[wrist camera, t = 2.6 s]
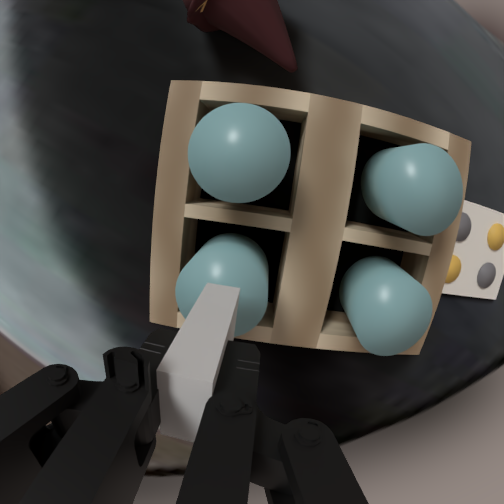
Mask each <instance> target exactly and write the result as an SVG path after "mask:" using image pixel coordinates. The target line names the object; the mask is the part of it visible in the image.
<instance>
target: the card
mask: <svg viewBox="0 0 504 504" xmlns="http://www.w3.org/2000/svg"><path fill="white" fill-rule="evenodd" d="M503 275H504V214H503V213H500V212H498V211H495V210H492V209H489V208H487V207H484V206H481V205H478V204H475V203H472V202H469V201H466V200H464V204H463V209H462V215H461V220H460V225H459V229H458V234H457V238H456V243H455V247H454V251H453V255H452V259H451V262H450V266H449V270H448V273H447V277H446V280H445V284H444V287H443V290H442V293H444V294H452V295H460V296H469V297H477V298H485V299H494V300H496V297H497V294H498V291H499V288H500V284H501V281H502V278H503Z"/></svg>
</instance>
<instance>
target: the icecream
mask: <svg viewBox="0 0 504 504" xmlns="http://www.w3.org/2000/svg"><path fill="white" fill-rule="evenodd" d="M183 2H184V4H185V6H186V8H187V10H188V13H187V15H188V17H187V22H188V23H190V24H193V25H195V26H196V27H197V28H198V29H200V30H201V31H203V32H212V31H217V30H222V31H224V32H226V33H228V34H230V35H231V36H233V37H235V38H237V39H238V40H240V41H242V42H244V43H245V44H247V45H249V46H250V47H252V48H254V49H255V50H257V51H258V52H260V53H262V54H263V55H265V56H266V57H268V58H269V59H271V60H272V61H274V62H275V63H277V64H278V65H279V66H281V67H282V68H284V69H285V70H287V71H288V72H290V73H292V72H295V71H296V70H297V69H298V67H297V63H296V58H295V55H294V52H293V48H292V45H291V42H290V39H289V35H288V32H287V29H286V26H285V23H284V19H283V16H282V13H281V10H280V7H279V4H278V1H277V0H183Z"/></svg>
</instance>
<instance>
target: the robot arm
mask: <svg viewBox="0 0 504 504" xmlns="http://www.w3.org/2000/svg"><path fill="white" fill-rule="evenodd" d="M239 295H240V288H237V287H231V286H225V285H219V284H213V283H207V284H206V285H205V287H204V289H203V291H202V292H201V294H200V296H199V297H198V299H197V301H196V302H195V304H194V306H193V308H192V309H191V311H190V313H189V314H188V316H187V318H186V319H185V321H184V323H183V325H182V326H181V328H180V330H179V332H177V331H173V330H168V329H163V328H160V329H158V330H156V331H154V332H152V333H151V334H150V335H149V336H148V338H147V339H146V341H145V343H143V345H142V346H141V348H140V349H139V350H138V349H136V348H131V347H116V348H113V349H110V350H108V351H107V352H105V353H104V354H103V359H104V366H105V372H106V379H105V380H104V381H103V382H101V381H86V380H79V377H78V374H77V372H76V371H75V370H74V369H73V368H72V367H70V366H67V365H63V364H54V365H49V366H47V367H45V368H43V369H41V370H40V371H38V372H36V373H35V374H33V375H32V376H30V377H28V378H27V379H25V380H24V381H22V382H20V383H19V384H17V385H16V386H14V387H12V388H11V389H9V390H8V391H6V392H5V393H3V394H1V395H0V504H133V501H134V498H135V496H136V494H137V491H138V489H139V486H140V483H141V481H142V479H143V476H144V474H145V471H146V469H147V466H148V464H149V461H150V459H151V456H152V454H153V451H154V449H155V446H156V435H155V434H156V432H157V430H158V427H159V425H160V432H161V434H163V435H167V436H171V437H175V438H179V439H183V440H187V441H192V442H194V445H193V448H192V451H191V455H190V458H189V461H188V465H187V468H186V471H185V475H184V478H183V481H182V485H181V489H180V492H179V496H178V498H177V502H176V504H247V502H248V493H249V483H250V482H252V483H254V484H257V485H259V486H262V487H264V489H265V493H266V497H267V501H268V504H368V502H367V500H366V498H365V496H364V494H363V492H362V490H361V488H360V486H359V484H358V482H357V480H356V478H355V476H354V474H353V472H352V470H351V468H350V466H349V464H348V462H347V460H346V458H345V456H344V454H343V452H342V450H341V448H340V446H339V444H338V442H337V440H336V438H335V436H334V434H333V432H332V431H331V430H330V429H329V427H328V426H326V425H325V424H323V423H322V422H320V421H317V420H314V419H310V418H299V419H295V420H292V421H290V422H289V423H288V424H286V425H285V424H282V423H280V422H277V421H274V420H272V419H270V418H268V417H267V416H265V415H264V414H263V413H262V412H261V411H260V410H259V408H258V406H257V402H256V396H257V385H258V374H259V363H260V352H259V350H258V348H257V346H256V345H255V344H249V343H243V342H236V341H233V339H234V332H235V324H236V317H237V309H238V302H239ZM50 421H51V422H52V423H51V424H49V425H47V426H46V424H47V423H49V422H50Z"/></svg>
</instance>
